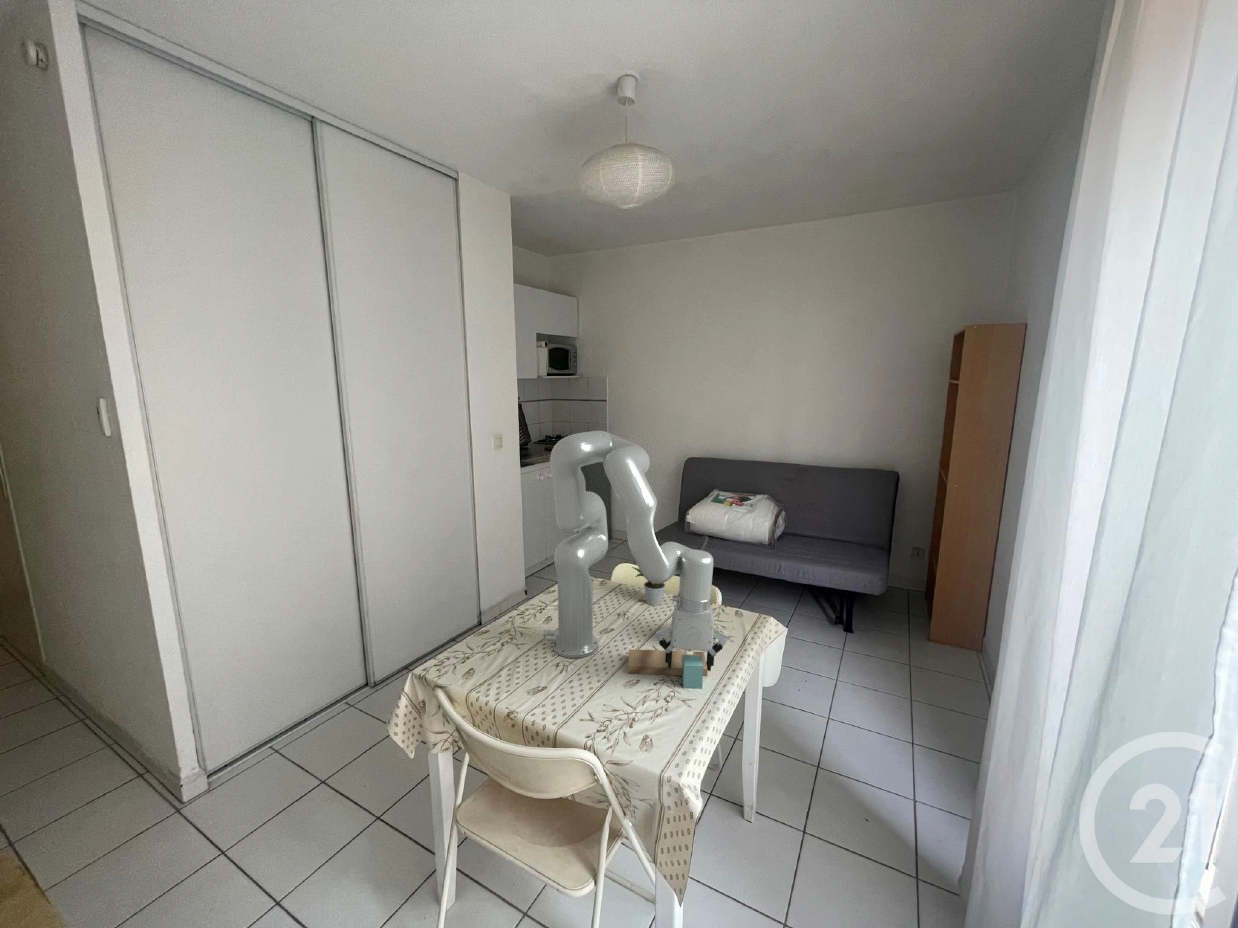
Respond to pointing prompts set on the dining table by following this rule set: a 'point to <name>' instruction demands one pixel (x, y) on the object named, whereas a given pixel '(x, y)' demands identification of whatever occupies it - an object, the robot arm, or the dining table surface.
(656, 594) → the house plant
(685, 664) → the gauge
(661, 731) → the dining table surface
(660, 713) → the dining table surface
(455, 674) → the dining table surface
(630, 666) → the board
